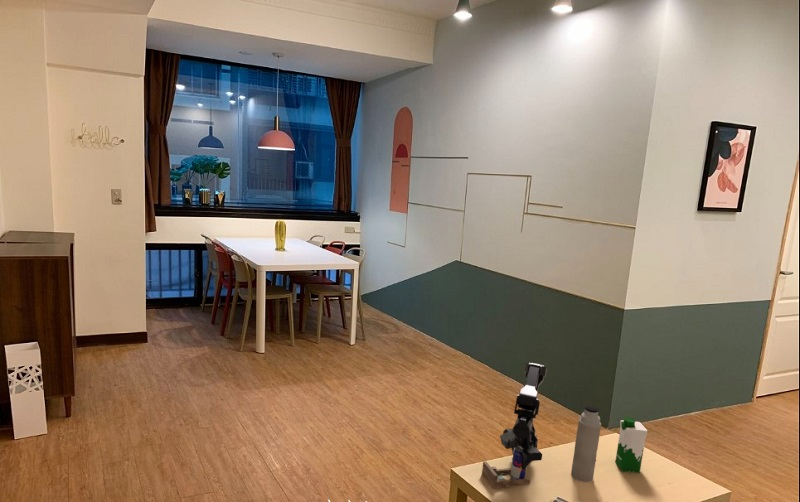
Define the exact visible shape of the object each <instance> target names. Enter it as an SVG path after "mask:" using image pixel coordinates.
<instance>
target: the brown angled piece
mask: <svg viewBox="0 0 800 502" xmlns="http://www.w3.org/2000/svg"><path fill="white" fill-rule="evenodd" d="M506 474H511V467H508V468H498V469H497V467H496V466H491V465H490V463H489V462H487V461H483V462H482V469H481V475H482V476H483V477H484V479H485V480H486V481H487V483H488V484H489V485H490V487H492V489H503V488H507V487H513V486H521V485H522V486H523V485H530V482H531V479H530V478H525V479H519V480H513V479H512V480H507V479H506V478H505V477H504V476H503V475H506Z"/></svg>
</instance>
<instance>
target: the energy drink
mask: <svg viewBox="0 0 800 502" xmlns="http://www.w3.org/2000/svg"><path fill="white" fill-rule="evenodd" d="M523 450H524V449H523V448H521V447H520V446H517V447H515V448H514V451H513V453H512V458H513V459H512V458H511V467H510V468H511V473H510V478H511V479H512V480H519V479H526V473H527V468H528V466H527V467H526V469H525V470H522V457H521V456H520V455H519V454H520V453H522V451H523Z"/></svg>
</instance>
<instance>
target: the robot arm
mask: <svg viewBox="0 0 800 502" xmlns="http://www.w3.org/2000/svg"><path fill="white" fill-rule="evenodd" d="M547 371H548V368H547V366H545V364H541V363H536V362H528V363H527V362H526V363H525V364H524V371H523V372H524V374H525V378H526V380H525V384H524V387H522V388H520V391H519V393H517V395H516V398H515V399H516V400H515V406H514V410H513V411H514V412H513V414H515V415H517V416H516V419H515V422H514V426H513V427H512V428H505V429H504V430H503V432H502V434H500V436H499V439H500V443H501V445H502V446H503V447H504V448H505V449H506V450H510V449H511V451H512V452H511V453H512V454H513V451H514V448H515V447H517V446H520V447H521V448H523V449H524V450H523V451H522V453H520V454H519V455H520V456H521V457H522V470H525V469H526V470H527V468H528V466H529V465H530V463H531V462H537V461H542V460H543V453H542V452H541V451H540V450H539V449H538V443H539V442H538V441H539V439H538V437H537V436H538V435H537V434H536V429H535V426H534V419H536V417H537V416H539V410H540V406H541V405H540V404H541V402H540V399H539V398H538V391H539V386H541V385H542V383H543V382H544V378H546V377H547ZM512 459H513V457H511V460H512ZM526 467H527V468H526Z"/></svg>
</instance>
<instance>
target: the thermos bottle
mask: <svg viewBox="0 0 800 502" xmlns="http://www.w3.org/2000/svg"><path fill="white" fill-rule="evenodd" d="M577 422H578V423H577V428H576V429H577V430H576V437H575V443H574V451H573V456H572V457H573V459H572V464H571V471H570V472H571V473H570V474H571V477H572V478H573V479H574V480H577V481H578V482H582V483H592V481H593V480H594V474H595V468H596V461H597V453H598V448H599V443H600V434H601V428H602V423H601V417H600V416H599V408H598V407H597V406H594V405H590V404H588V405H587V404H586V405H585V406H584V411H583V412H582V413H581V415H580V417H579V418H578V421H577Z"/></svg>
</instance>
